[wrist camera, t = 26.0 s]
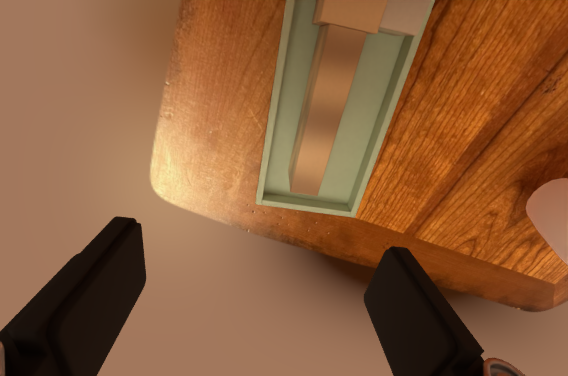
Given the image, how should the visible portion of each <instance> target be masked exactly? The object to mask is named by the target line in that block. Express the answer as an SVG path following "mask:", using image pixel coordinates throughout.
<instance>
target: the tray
mask: <svg viewBox="0 0 568 376" xmlns="http://www.w3.org/2000/svg"><path fill="white" fill-rule="evenodd" d="M434 2H435V0H431V2H430V5H429V7H428V10H427V12H426V15H425V17H424V20H423V22H422V25H421V27H420V30H419V32H418V35H417V36H393V35H389V34H384V33H380V32H378V33H377V34H367V36H366V39H365V42H364V46H363V49H362V52H361V55H360V59H359V62H358V65H357V68H356V72H355V75H354V78H353V81H352V85H351V88H350V91H349V94H348V98H347V101H346V104H345V107H344V111H343V114H342V117H341V121H340V124H339V127H338V130H337V134H336V137H335V140H334V143H333V147H332V150H331V153H330V156H329V160H328V163H327V166H326V169H325V173H324V176H323V179H322V183H321V186H320V189H319V192H318V195H317V196H313V195H306V194H299V193H292V192H290V186H289V175H288V168H289V163H290V159H291V154H292V150H293V145H294V140H295V136H296V131H297V127H298V122H299V118H300V113H301V108H302V104H303V99H304V95H305V90H306V86H307V81H308V76H309V72H310V67H311V63H312V58H313V53H314V49H315V44H316V40H317V35H318V31H319V27H320V26H318V25H314V24H312V19H313V14H314V9H315V4H316V0H286V3H285V10H284V16H283V23H282V30H281V36H280V43H279V49H278V56H277V62H276V69H275V75H274V82H273V89H272V95H271V102H270V108H269V115H268V121H267V128H266V134H265V141H264V148H263V154H262V161H261V167H260V174H259V180H258V187H257V193H256V202H255V204H258V205H261V204H262V205H266V206H273V207H281V208H288V209H295V210H303V211H310V212H318V213H325V214H332V215H340V216H347V217H354V218H355V216H356V213H357V210H358V207H359V205H360V202H361V199H362V197H363V194H364V191H365V188H366V186H367V183H368V180H369V178H370V175H371V172H372V170H373V167H374V164H375V161H376V159H377V156H378V153H379V151H380V148H381V145H382V142H383V140H384V137H385V134H386V132H387V129H388V126H389V124H390V121H391V118H392V115H393V113H394V110H395V107H396V105H397V102H398V99H399V96H400V94H401V91H402V88H403V86H404V83H405V80H406V78H407V75H408V72H409V69H410V67H411V64H412V61H413V59H414V56H415V53H416V50H417V48H418V45H419V42H420V40H421V37H422V34H423V32H424V29H425V26H426V23H427V21H428V18H429V15H430V13H431V10H432V7H433V5H434Z"/></svg>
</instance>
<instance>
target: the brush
mask: <svg viewBox="0 0 568 376" xmlns="http://www.w3.org/2000/svg"><path fill="white" fill-rule="evenodd" d="M430 2H431V0H316V4H315V9H314V14H313V19H312V24H314V25H318V26H320V27H319V31H318V35H317V40H316V44H315V49H314V53H313V58H312V63H311V67H310V72H309V76H308V81H307V86H306V90H305V95H304V99H303V104H302V108H301V113H300V118H299V122H298V127H297V131H296V136H295V140H294V145H293V150H292V154H291V159H290V163H289V168H288V175H289V186H290V192H292V193H299V194H306V195H313V196H317V195H318V192H319V189H320V186H321V183H322V179H323V176H324V173H325V169H326V166H327V163H328V160H329V156H330V153H331V150H332V147H333V143H334V140H335V137H336V134H337V130H338V127H339V124H340V121H341V117H342V114H343V111H344V107H345V104H346V101H347V98H348V94H349V91H350V88H351V85H352V81H353V78H354V75H355V72H356V68H357V65H358V62H359V59H360V55H361V52H362V49H363V46H364V42H365V39H366V36H367V34H377V33H378V32H380V33H384V34H389V35H393V36H417V35H418V32H419V30H420V27H421V25H422V22H423V20H424V17H425V15H426V12H427V10H428V7H429V5H430Z"/></svg>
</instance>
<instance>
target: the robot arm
mask: <svg viewBox="0 0 568 376" xmlns="http://www.w3.org/2000/svg"><path fill="white" fill-rule="evenodd" d="M145 282H146V270H145V260H144V249H143V239H142V228H141V224H140V223H137V222H136V220H135V219H134V218H126V217H114V218H113V219H112V220H111V221H110V222H109V223H108V225H106V227H105V228H104V229H103V230H102V231H101V232H100V233H99V234H98V235H97V236H96V237H95V238H94V239H93V240H92V241H91V242H90V243H89V244H88V245H87V246H86V247H85V249H84V250H83V251H82V252H81V253H79V254H76V255H75V256H74V257H73V258H71V259H70V261H68V262H67V264H66V265H65V266H64V267H63V268H62V269H61V270H60V271H59V272H58V273H57V274H56V275H55V276H54V277H53V278H52V279H51V280H50V281H49V282H48V283H47V284H46V285H45V286H44V287H43V288H42V289H41V290H40V291H39V292H38V293H37V294H36V296H34V297H33V298H32V299H31V300H30V302H29V303H28V304H27V305H26V306H25V307H24V308H23V309H22V310H21V311H20V312H19V313H18V314H17V315H16V316H15V317H14V318H13V319H12V320H11V321H10V322H9V323H8V324H7V325H6V326H5V327H4V328H3V329H2V330H1V331H0V376H97V374H98V372H99V370H100V368H101V367H102V365H103V363H104V361H105V359H106V357H107V355H108V353H109V352H110V350H111V348H112V346H113V344H114V342H115V340H116V338H117V336H118V335H119V333H120V331H121V329H122V327H123V325H124V323H125V322H126V320H127V318H128V316H129V314H130V312H131V310H132V308H133V307H134V305H135V303H136V301H137V299H138V297H139V295H140V294H141V292H142V290H143V288H144V286H145ZM364 303H365V306H366V308H367V311H368V313H369V316H370V318H371V321H372V323H373V325H374V328H375V331H376V333H377V335H378V338H379V341H380V343H381V346H382V348H383V350H384V353H385V355H386V358H387V360H388V363H389V365H390V368H391V370H392V373H393V375H394V376H525V375H524V374H523V373H522V372H521V371H520V370H518V369H517V368H515V367H514V366H512V365H511V364H509V363H507V362H505V361H503V360H500V359H497V358H488V359H486V360H485V361H484V360H483V358H482V357H481V356H480V355H481V354H482V353H483V352H484V350H483V349H482V347H481V346H480V345H479V343H478V342H477V341H476V339H475V338H474V337H473V335H472V334H471V333H470V331H469V330H468V329H467V327H466V326H465V325H464V323H463V322H462V321H461V319H460V318H459V317H458V315H457V314H456V313H455V311H454V310H453V309H452V307H451V306H450V304H449V303H448V302H447V301H446V299H445V298H444V296H443V295H442V294H441V293H440V291H439V290H438V288H437V287H436V286H435V284H434V283H433V282H432V280H431V279H430V278H429V276H428V275H427V274H426V272H425V271H424V270H423V268H422V267H421V266H420V264H419V263H418V262H417V260H416V259H415V257H414V256H413V255H412V253H411V252H410V251H409V250H408V249H407V248H404V247H395V246H392V247H390V248H389V249H388V250H386V251H385V252H384V254H383V257H382V259H381V261H380V263H379V265H378V267H377V269H376V271H375V273H374V275H373V278H372V279H371V282H370V284H369V286H368V288H367V290H366V292H365V294H364Z"/></svg>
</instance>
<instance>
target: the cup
mask: <svg viewBox="0 0 568 376" xmlns="http://www.w3.org/2000/svg"><path fill="white" fill-rule="evenodd" d="M526 211H527V215H528V216H529V218H530V219H531V221H532V223H533V224H534V226H535V227H536V229H537V231H538V232H539V233H540V234H541V235H542V237H543V238H544V239H545V240H546V242H547V243H548V244H549V245H550V246H551V248H552V249H553V250H554V251H555V253H556V254H557V255H558V256H559V257H560V258H561V259H562V260H563V261H564V262H565V263H566V264H567V265H568V178H560V179H555V180H551V181H549V182H547V183H545V184H543V185H542V186H541V187H539V188H538V189H537V190H536V191H535V192H533V194H532V195H531V197H530V198H529V199H528V202H527V205H526Z"/></svg>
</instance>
